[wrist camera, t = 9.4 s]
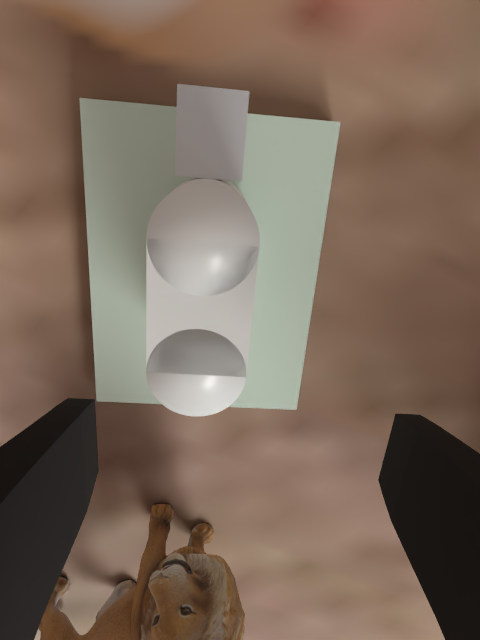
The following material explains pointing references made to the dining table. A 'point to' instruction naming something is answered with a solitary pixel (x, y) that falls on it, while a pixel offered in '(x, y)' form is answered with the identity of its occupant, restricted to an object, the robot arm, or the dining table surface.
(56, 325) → the dining table surface
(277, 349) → the pale green rectangular panel
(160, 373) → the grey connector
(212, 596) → the lion figurine
